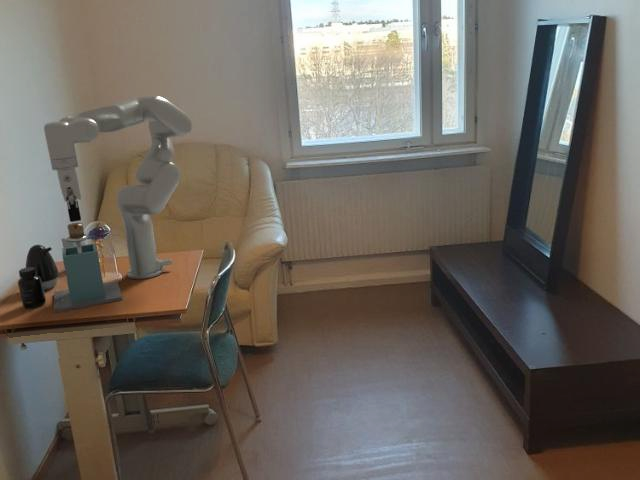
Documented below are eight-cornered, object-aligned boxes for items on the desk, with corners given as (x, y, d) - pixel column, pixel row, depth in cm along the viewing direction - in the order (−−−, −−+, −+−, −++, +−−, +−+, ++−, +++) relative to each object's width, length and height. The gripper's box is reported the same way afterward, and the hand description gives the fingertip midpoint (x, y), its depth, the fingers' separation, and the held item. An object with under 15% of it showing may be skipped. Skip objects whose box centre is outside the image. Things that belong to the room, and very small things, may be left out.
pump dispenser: (49, 293, 214) (41, 249, 210) (22, 293, 216) (13, 249, 212) (67, 282, 224) (59, 240, 219) (40, 282, 226) (32, 240, 221)
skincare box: (88, 267, 238) (82, 236, 235) (78, 271, 235) (72, 239, 231) (76, 265, 241) (70, 234, 238) (66, 269, 238) (60, 238, 234)
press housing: (117, 283, 219) (110, 238, 215) (122, 299, 204) (114, 251, 199) (54, 294, 212) (45, 248, 208) (55, 312, 197) (45, 262, 193)
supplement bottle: (29, 301, 208) (21, 266, 205) (49, 300, 208) (42, 265, 204) (19, 309, 201) (11, 273, 198) (40, 308, 201) (33, 272, 198)
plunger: (97, 283, 212) (86, 220, 206) (99, 290, 205) (88, 225, 199) (74, 287, 209) (62, 223, 203) (74, 295, 203) (62, 229, 197)
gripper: (78, 165, 189) (89, 221, 195) (76, 157, 205) (86, 209, 210) (51, 169, 187) (63, 226, 192) (51, 160, 202) (61, 213, 207)
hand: (75, 217), depth 201 cm, fingers open, 9 cm apart
